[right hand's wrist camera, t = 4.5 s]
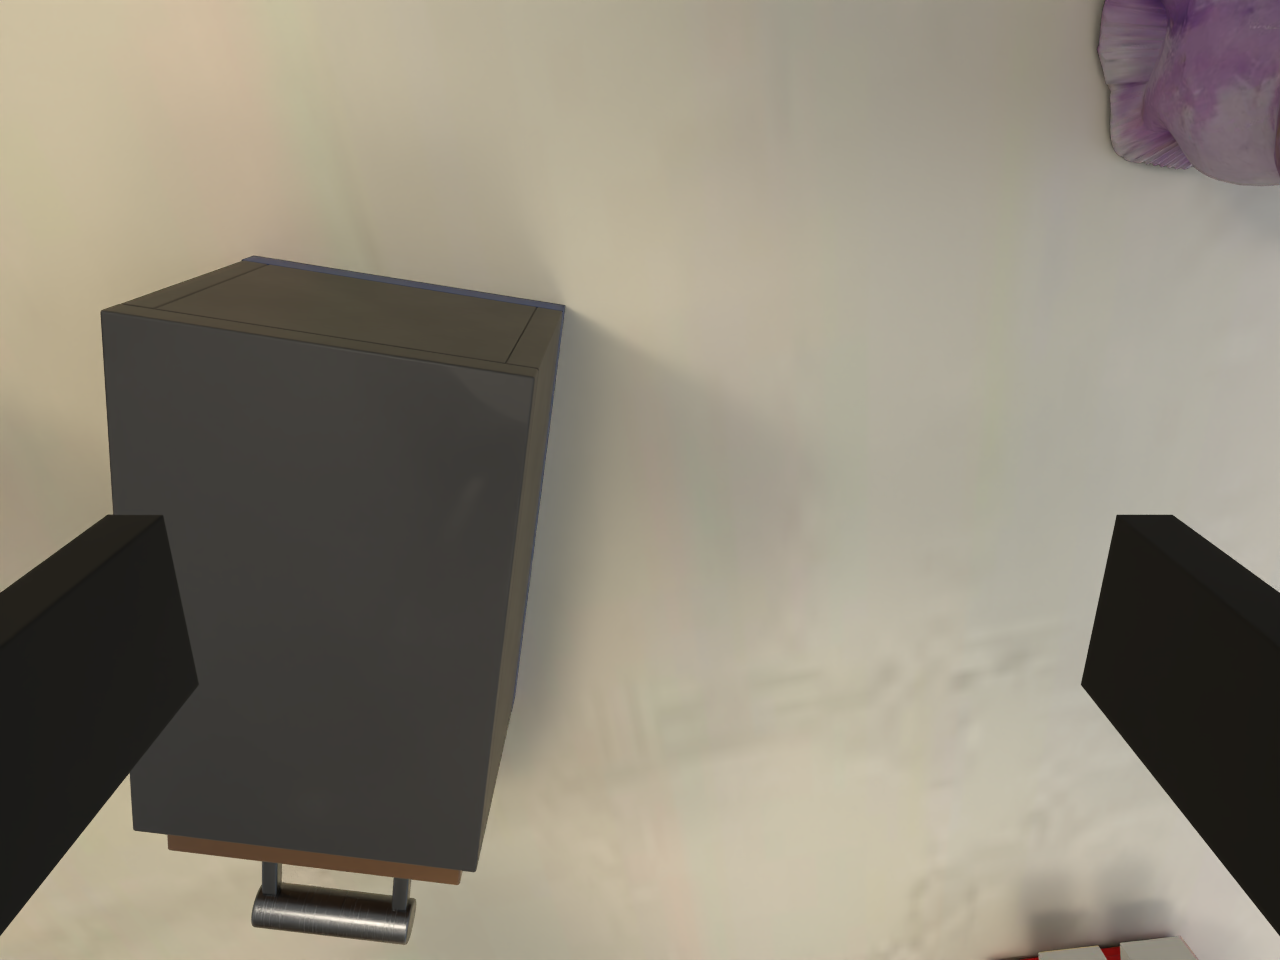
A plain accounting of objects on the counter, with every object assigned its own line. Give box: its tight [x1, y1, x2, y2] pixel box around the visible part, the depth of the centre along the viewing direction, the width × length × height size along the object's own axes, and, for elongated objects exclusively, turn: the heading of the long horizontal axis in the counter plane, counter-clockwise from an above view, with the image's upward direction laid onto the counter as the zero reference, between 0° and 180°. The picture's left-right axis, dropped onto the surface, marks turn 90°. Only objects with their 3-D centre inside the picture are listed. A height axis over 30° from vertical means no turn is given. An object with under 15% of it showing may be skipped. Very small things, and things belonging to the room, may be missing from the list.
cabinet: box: [101, 256, 565, 872], centre depth 31 cm, size 18×11×10 cm, turn 171°
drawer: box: [168, 835, 462, 945], centre depth 33 cm, size 22×10×8 cm, turn 171°
